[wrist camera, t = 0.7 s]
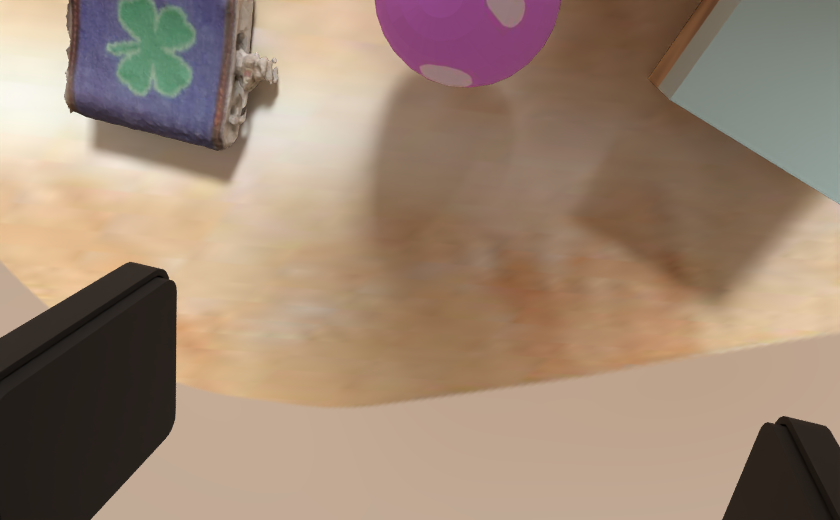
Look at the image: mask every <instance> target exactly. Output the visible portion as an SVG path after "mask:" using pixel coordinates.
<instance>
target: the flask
mask: <svg viewBox="0 0 840 520" xmlns="http://www.w3.org/2000/svg"><path fill="white" fill-rule="evenodd" d="M252 13H253V0H69V4H68V12H67V15H66V17H67V25H66V26H67V29H68V31H69V32H68V33H69V36H70V39H71V40H70V47H69V48H68V49H67V50H66V51H67V55H68V59H69V66H68V69H67V72H65V74H66V78H67V84H66V90H65V94H64V98H65V100H66V103H67V105H68V107H69V109H70V114H71V113H72V112H73V111H74V112H77V113H79V114H81V115H83V116H85V117H89V118H92V119H95V120H101V121H105V122H108V123H112V124H116V125H122V126H126V127H129V128H131V129H134V130H141V131H145V132H149V133H154V134H157V135H161V136H163V137H168V138H173V139H177V140H181V141H183V142H188V143H191V144H195V145H200V146H205V147H207V148H210V149H214V150H217V151H218V150H223V149H226V148H227V147H230V145H231V144H232V143H233V142H235V140H236V139H237V137H238V130H239V125H241V124H242V123H243V122H245V118H246V110H247V109H246V110H245V112H244V114H243V115H242V116H241V113H242V108H244V107H245V105H246V103H247V98H248V93H249V92H251V91H252V90H253V89H254V88H255V87H256V86H257V85H258V83H259V81H262V80H264V79H265V80H268V81H269V82H270V84H271V83H276V82H277V78H278V76H277V74H278V70H277V67H275V68H274V70H272V64H273V63H276V61H277V59H275V58H273V59H272V62H273V63H272V62H271V61H269V60H268V59H267V57H262V58H260V57H259V54H258V52H257V53H255V54H254V53H253V54H249V53H250V40H251V28H252ZM272 76H273V79H272ZM240 116H241V117H240Z"/></svg>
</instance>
